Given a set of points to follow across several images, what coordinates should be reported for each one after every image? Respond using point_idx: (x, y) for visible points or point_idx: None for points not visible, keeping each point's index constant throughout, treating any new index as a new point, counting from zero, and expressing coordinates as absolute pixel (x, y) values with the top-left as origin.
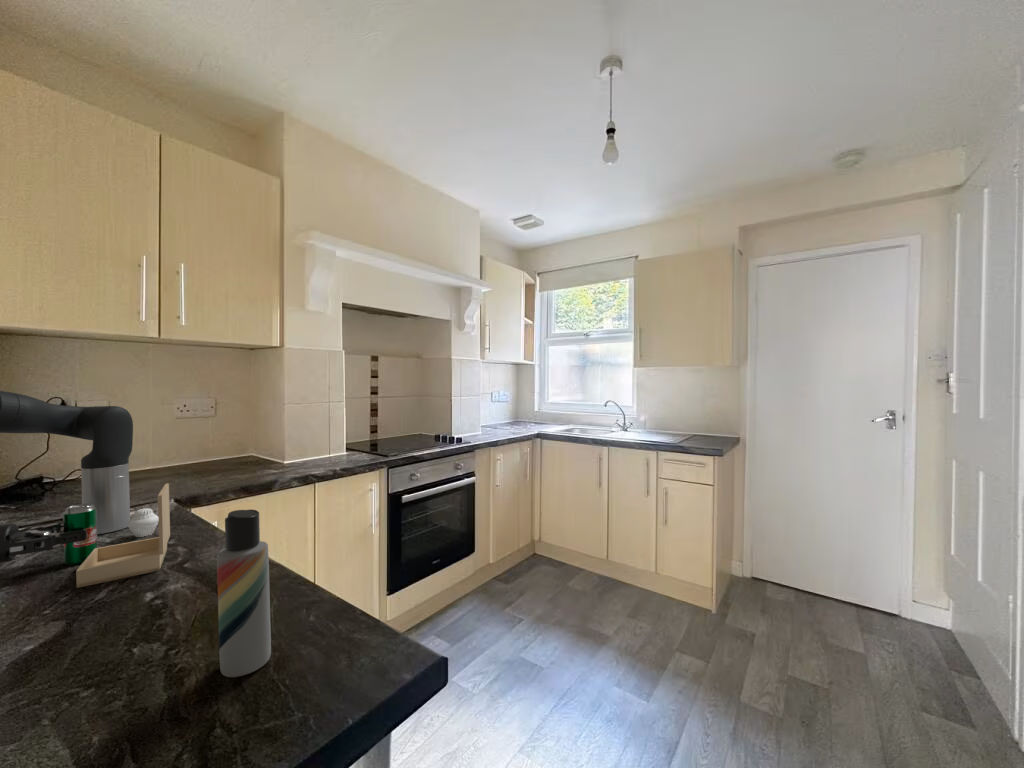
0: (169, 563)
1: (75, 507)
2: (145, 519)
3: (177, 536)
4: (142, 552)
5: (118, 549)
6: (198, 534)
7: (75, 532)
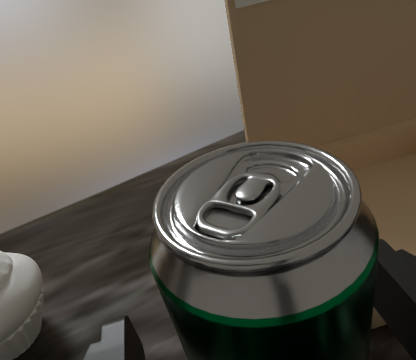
0: None
1: (291, 193)
2: (19, 265)
3: (128, 228)
4: None
5: None
6: (147, 192)
7: (411, 270)
